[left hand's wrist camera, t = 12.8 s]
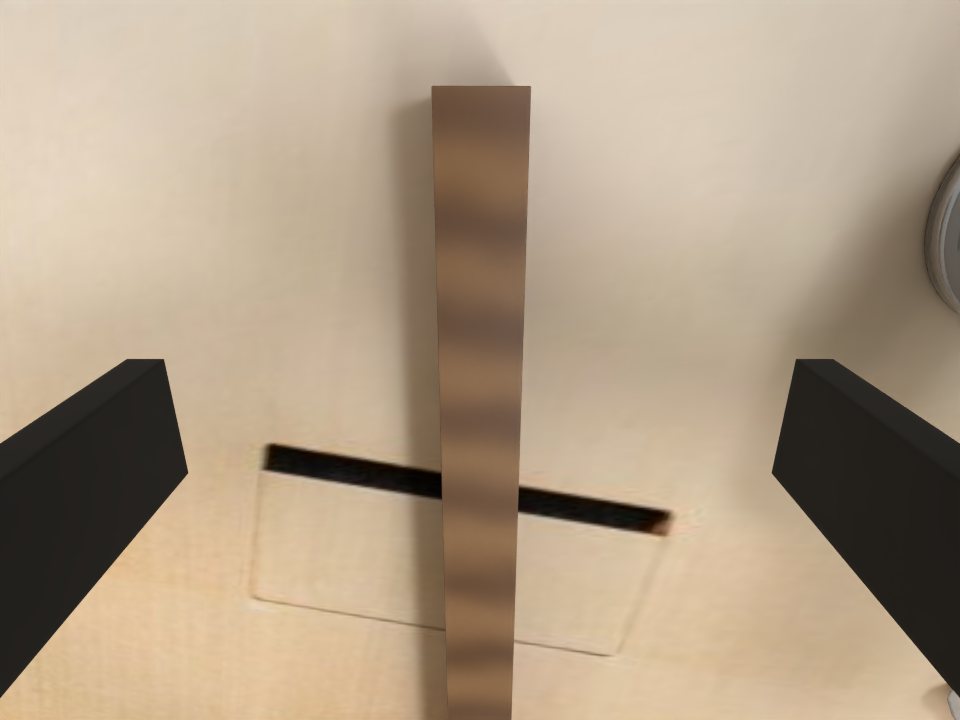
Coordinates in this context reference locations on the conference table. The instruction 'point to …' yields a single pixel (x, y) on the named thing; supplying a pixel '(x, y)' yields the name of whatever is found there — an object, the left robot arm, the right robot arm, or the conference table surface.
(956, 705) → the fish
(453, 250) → the post
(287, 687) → the conference table surface
